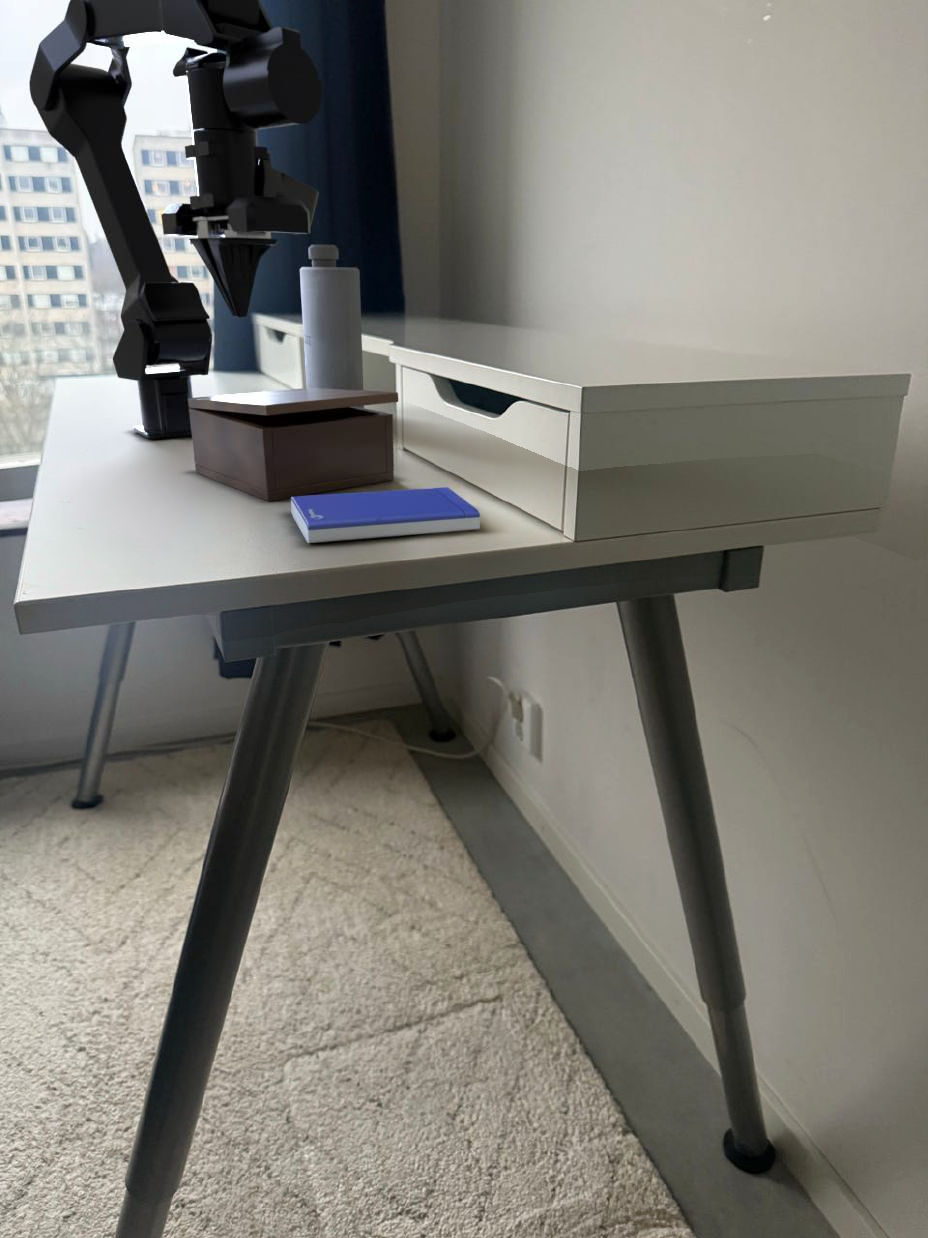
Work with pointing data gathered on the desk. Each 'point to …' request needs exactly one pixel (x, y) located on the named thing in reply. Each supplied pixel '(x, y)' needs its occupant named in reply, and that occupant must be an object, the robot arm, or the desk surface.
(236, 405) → the lid
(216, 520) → the desk surface
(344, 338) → the flask
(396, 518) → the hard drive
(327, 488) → the keepsake box
